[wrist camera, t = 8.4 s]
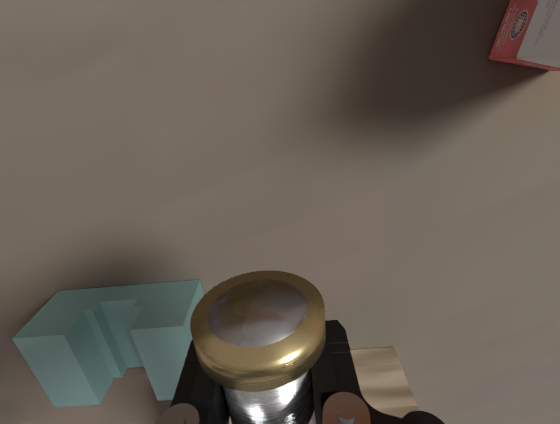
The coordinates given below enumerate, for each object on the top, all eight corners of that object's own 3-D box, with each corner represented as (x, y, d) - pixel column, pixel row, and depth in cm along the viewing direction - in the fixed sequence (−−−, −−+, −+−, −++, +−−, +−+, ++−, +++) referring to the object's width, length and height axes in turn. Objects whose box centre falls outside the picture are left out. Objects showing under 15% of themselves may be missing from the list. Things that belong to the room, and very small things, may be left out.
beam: (195, 360, 33) (173, 439, 26) (393, 347, 32) (424, 424, 25) (212, 416, 36) (196, 497, 30) (389, 405, 35) (415, 486, 29)
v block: (58, 290, 29) (11, 338, 24) (200, 279, 28) (182, 326, 23) (89, 353, 32) (54, 407, 27) (216, 344, 32) (204, 397, 27)
